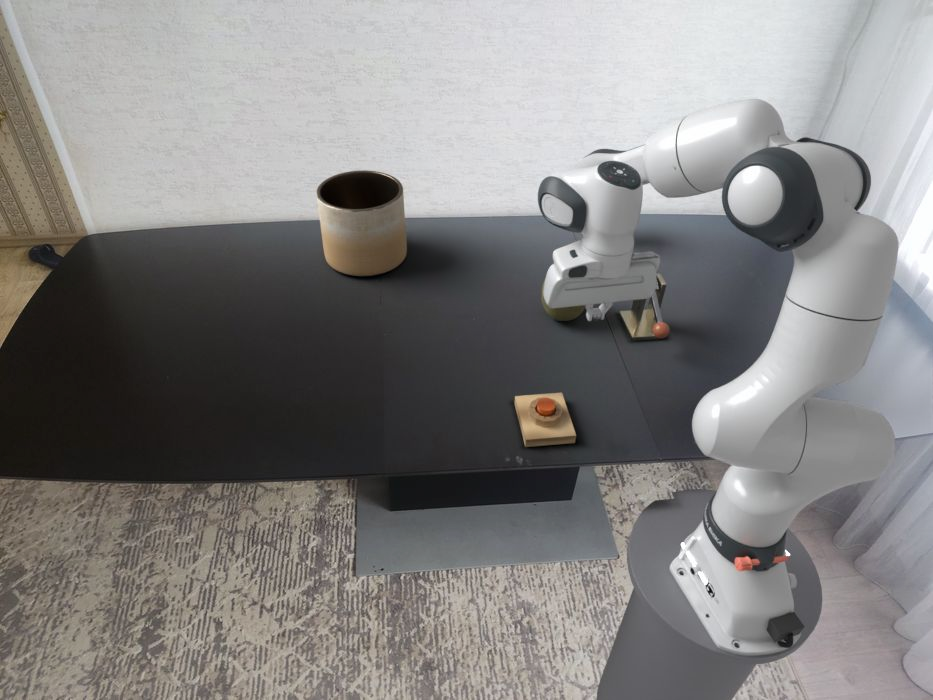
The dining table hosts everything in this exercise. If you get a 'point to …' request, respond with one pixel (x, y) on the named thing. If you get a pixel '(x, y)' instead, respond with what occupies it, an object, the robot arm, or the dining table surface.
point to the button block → (544, 421)
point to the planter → (362, 222)
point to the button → (545, 407)
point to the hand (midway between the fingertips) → (594, 318)
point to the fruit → (562, 310)
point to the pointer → (658, 318)
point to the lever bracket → (643, 316)
